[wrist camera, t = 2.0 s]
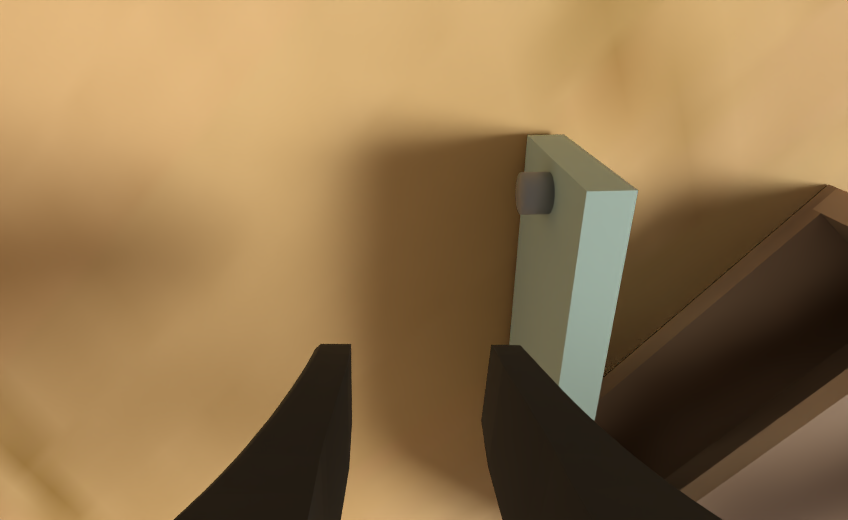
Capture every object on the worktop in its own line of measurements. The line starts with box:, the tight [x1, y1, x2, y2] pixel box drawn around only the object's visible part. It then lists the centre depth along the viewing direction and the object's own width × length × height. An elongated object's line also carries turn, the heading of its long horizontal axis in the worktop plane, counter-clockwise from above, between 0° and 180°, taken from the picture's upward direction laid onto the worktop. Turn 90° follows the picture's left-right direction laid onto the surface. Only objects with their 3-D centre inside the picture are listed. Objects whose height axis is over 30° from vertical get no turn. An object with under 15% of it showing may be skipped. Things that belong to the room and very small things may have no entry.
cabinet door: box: [509, 135, 638, 421], centre depth 18 cm, size 14×2×6 cm, turn 0°
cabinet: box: [595, 185, 848, 520], centre depth 19 cm, size 7×16×6 cm, turn 140°
